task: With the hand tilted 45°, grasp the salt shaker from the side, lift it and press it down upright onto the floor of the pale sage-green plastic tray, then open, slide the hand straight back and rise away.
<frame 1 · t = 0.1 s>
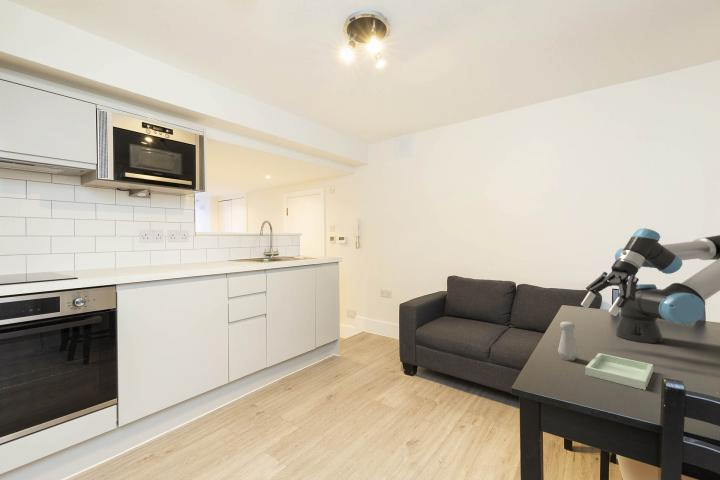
hand: (597, 310, 120), 15 cm above the table, tool tilted 35°, fingers open, 13 cm apart
salt shaker: (567, 359, 111), on the table
tray: (619, 373, 99), on the table
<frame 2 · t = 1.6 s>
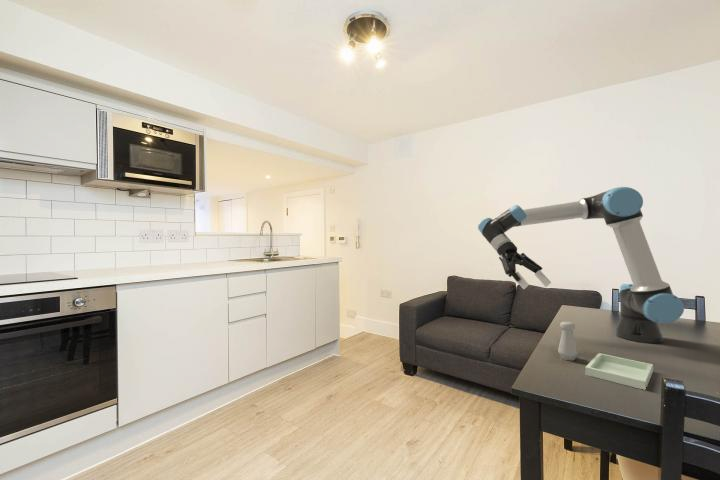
hand: (537, 285, 121), 25 cm above the table, tool tilted 45°, fingers open, 13 cm apart
nothing on the table moved.
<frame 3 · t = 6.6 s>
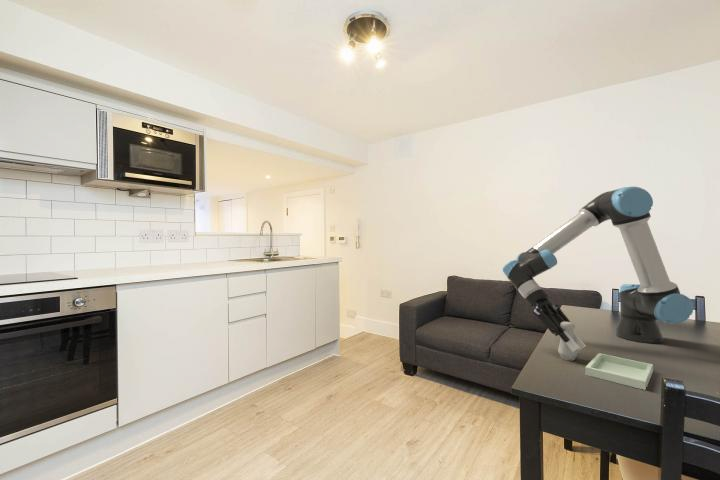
hand: (579, 348, 108), 5 cm above the table, tool tilted 45°, fingers closed on salt shaker, 3 cm apart
salt shaker: (567, 359, 111), on the table, touching gripper
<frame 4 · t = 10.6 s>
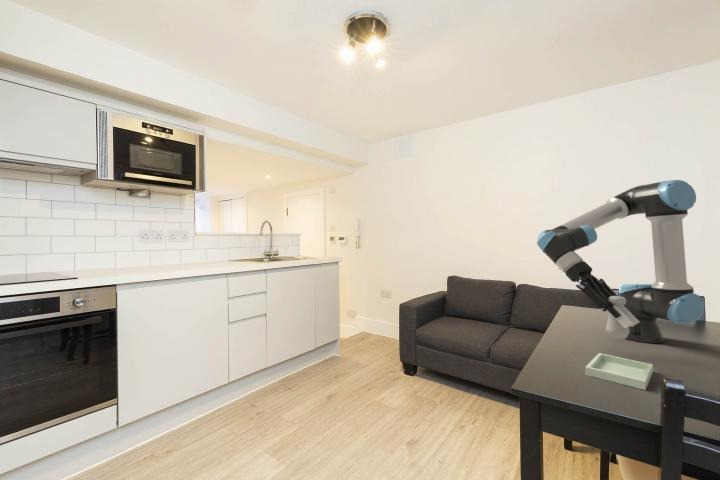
hand: (632, 325, 95), 16 cm above the table, tool tilted 45°, fingers closed on salt shaker, 3 cm apart
salt shaker: (617, 337, 99), point 11 cm above the table, touching gripper
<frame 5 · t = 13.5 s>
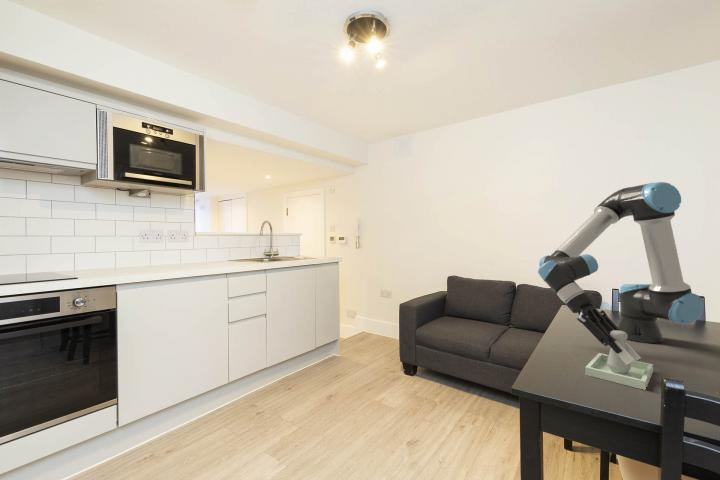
hand: (633, 361, 95), 5 cm above the table, tool tilted 45°, fingers closed on salt shaker, 3 cm apart
salt shaker: (618, 372, 99), resting on tray, touching gripper
when the fingers open (5 cm above the table, at t = 15.0 s): salt shaker stays where it is, resting on tray.
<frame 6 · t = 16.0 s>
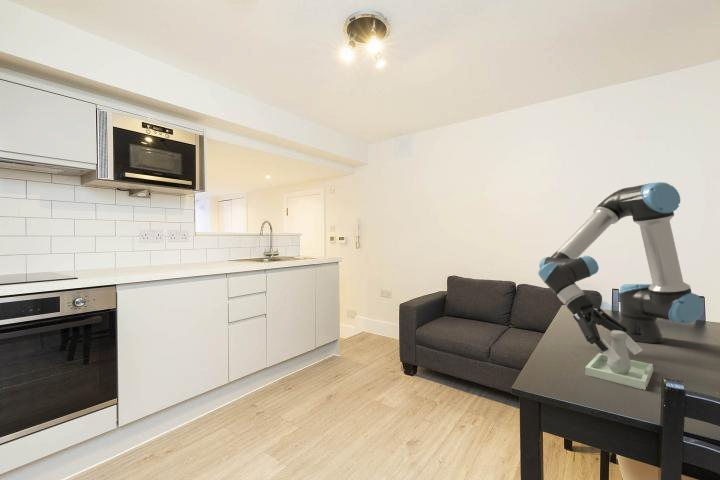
hand: (628, 356, 97), 6 cm above the table, tool tilted 45°, fingers open, 13 cm apart
salt shaker: (618, 372, 99), resting on tray
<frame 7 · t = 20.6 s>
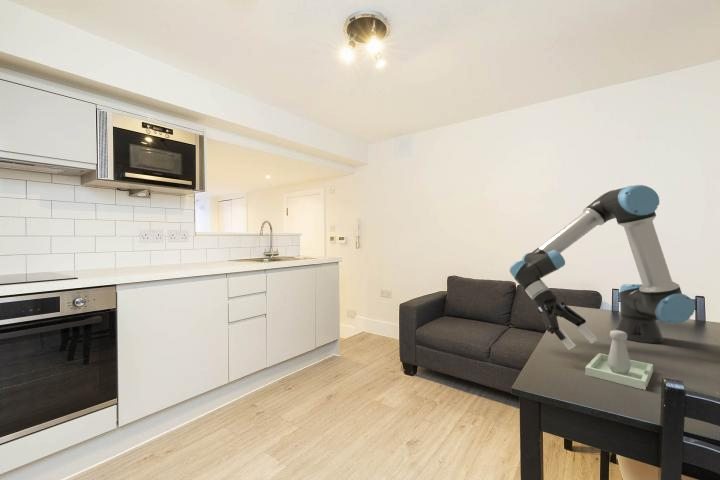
hand: (583, 344, 108), 6 cm above the table, tool tilted 45°, fingers open, 13 cm apart
nothing on the table moved.
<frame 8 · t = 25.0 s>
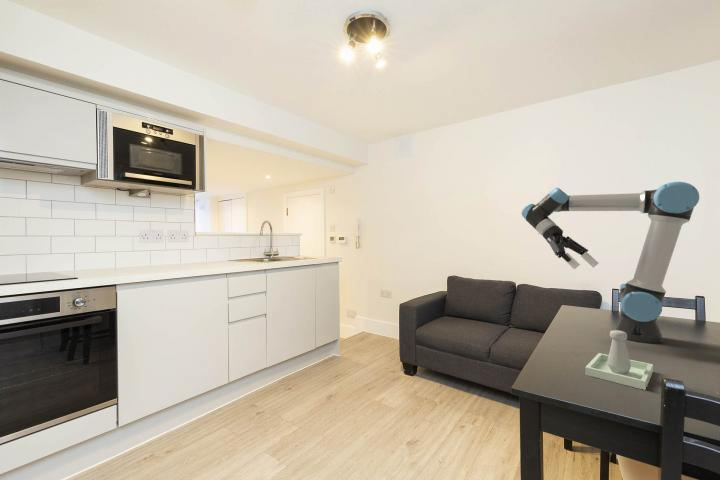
hand: (586, 266, 127), 32 cm above the table, tool tilted 45°, fingers open, 13 cm apart
nothing on the table moved.
at the end: salt shaker inside the target area on the tray (0.1 cm from its centre), point 0.2 cm above the tray's base; salt shaker tilted 0°; the gripper is holding nothing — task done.
